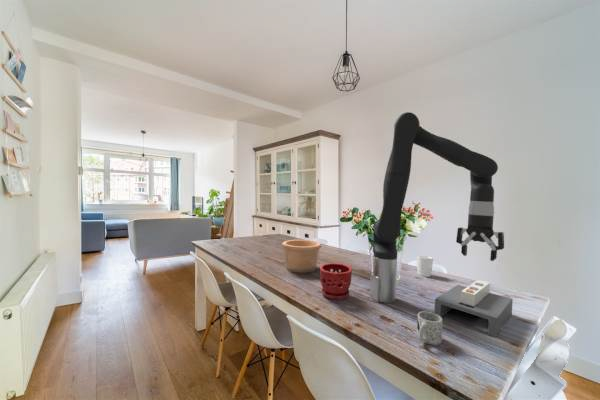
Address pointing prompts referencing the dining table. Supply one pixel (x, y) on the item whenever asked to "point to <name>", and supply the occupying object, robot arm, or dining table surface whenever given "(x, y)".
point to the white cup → (424, 265)
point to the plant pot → (335, 280)
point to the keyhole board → (478, 308)
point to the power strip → (475, 293)
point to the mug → (429, 328)
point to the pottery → (301, 255)
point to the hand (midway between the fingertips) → (478, 257)
